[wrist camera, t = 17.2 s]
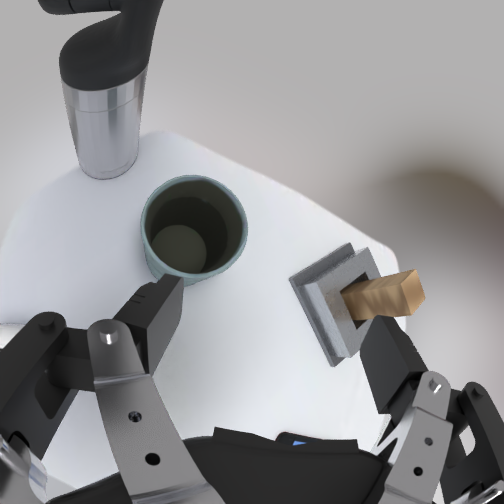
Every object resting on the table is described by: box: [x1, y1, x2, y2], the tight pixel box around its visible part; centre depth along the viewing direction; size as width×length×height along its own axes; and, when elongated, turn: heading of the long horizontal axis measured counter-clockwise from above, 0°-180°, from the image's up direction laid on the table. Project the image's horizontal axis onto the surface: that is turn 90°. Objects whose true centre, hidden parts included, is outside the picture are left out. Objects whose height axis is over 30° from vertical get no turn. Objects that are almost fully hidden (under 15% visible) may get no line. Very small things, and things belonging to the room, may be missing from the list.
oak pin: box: [340, 269, 425, 320], centre depth 36 cm, size 4×4×14 cm
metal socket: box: [289, 242, 381, 367], centre depth 41 cm, size 16×14×5 cm
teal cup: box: [141, 175, 248, 287], centre depth 30 cm, size 10×10×12 cm
